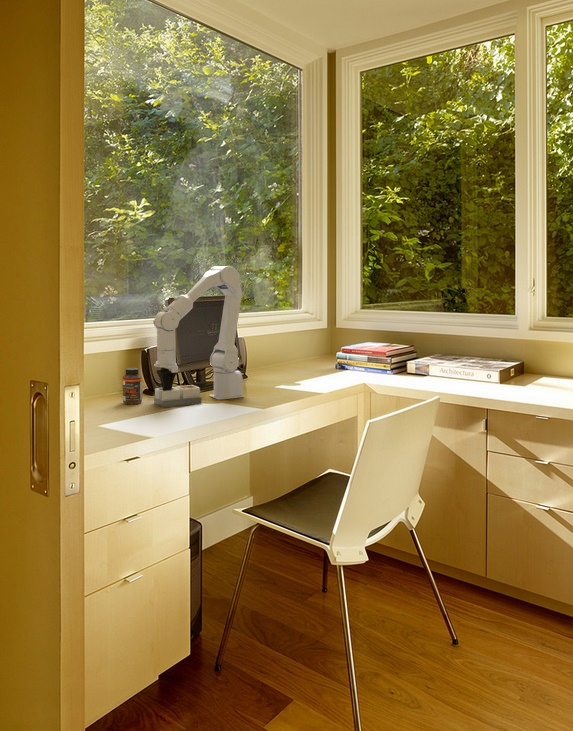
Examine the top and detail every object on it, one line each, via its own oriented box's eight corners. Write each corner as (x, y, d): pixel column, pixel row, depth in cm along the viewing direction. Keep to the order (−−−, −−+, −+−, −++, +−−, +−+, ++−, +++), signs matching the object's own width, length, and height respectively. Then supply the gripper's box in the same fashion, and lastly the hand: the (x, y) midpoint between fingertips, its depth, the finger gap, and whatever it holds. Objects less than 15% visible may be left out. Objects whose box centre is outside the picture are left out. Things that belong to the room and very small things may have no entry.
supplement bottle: (123, 405, 197) (122, 370, 196) (122, 401, 203) (121, 367, 201) (142, 404, 199) (141, 369, 197) (141, 401, 205) (140, 366, 203)
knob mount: (191, 399, 208) (191, 384, 207) (201, 403, 201) (201, 388, 201) (154, 403, 201) (153, 387, 200) (163, 407, 194) (162, 392, 194)
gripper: (146, 348, 201) (147, 389, 203) (162, 352, 189) (163, 396, 191) (167, 346, 205) (167, 387, 206) (184, 351, 192) (185, 394, 194)
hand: (167, 392), depth 199 cm, fingers closed, pressing on cream knob
